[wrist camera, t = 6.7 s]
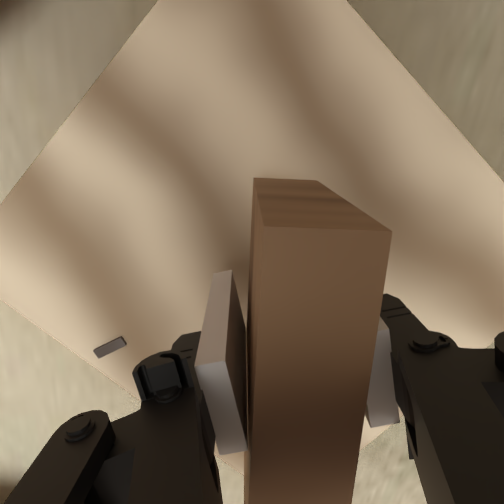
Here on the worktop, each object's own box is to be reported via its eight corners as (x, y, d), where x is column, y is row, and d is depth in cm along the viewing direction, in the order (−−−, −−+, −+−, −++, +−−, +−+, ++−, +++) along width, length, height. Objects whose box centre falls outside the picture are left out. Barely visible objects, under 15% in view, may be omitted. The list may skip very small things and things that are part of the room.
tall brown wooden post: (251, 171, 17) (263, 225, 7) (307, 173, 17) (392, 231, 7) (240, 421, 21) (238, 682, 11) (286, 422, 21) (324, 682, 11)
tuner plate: (246, -93, 16) (247, -119, 14) (556, 261, 21) (583, 272, 19) (-27, 256, 20) (-51, 267, 18) (286, 486, 25) (289, 511, 23)
